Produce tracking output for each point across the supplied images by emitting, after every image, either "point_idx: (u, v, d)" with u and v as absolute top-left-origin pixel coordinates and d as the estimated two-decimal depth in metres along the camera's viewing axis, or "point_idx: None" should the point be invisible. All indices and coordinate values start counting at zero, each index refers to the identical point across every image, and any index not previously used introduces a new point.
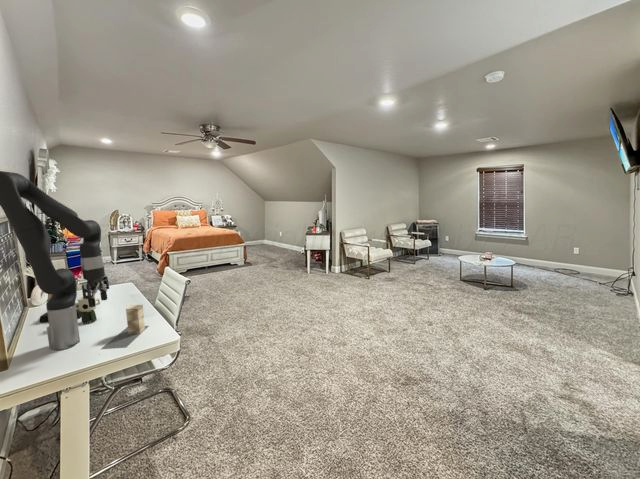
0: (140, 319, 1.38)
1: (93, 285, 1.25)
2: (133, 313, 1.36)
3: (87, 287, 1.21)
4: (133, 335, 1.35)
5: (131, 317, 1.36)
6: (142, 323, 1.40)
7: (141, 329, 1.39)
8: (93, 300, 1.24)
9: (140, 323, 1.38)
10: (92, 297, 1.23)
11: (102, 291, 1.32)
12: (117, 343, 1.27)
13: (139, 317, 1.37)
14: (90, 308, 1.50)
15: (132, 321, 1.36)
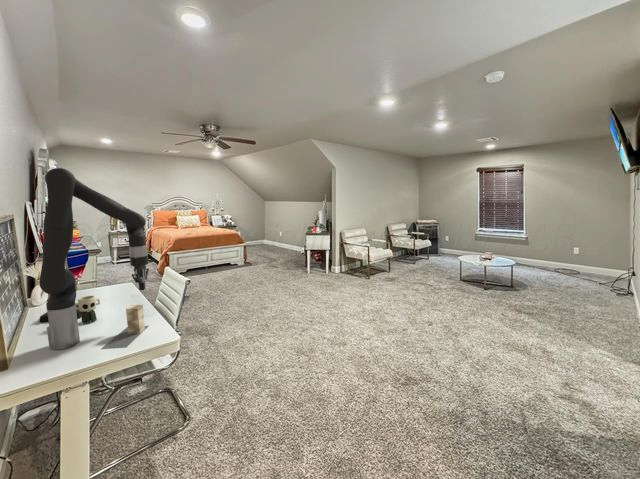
0: (140, 319, 1.38)
1: (140, 273, 1.42)
2: (133, 313, 1.36)
3: (137, 277, 1.39)
4: (133, 335, 1.35)
5: (131, 317, 1.36)
6: (142, 323, 1.40)
7: (141, 329, 1.39)
8: (143, 284, 1.45)
9: (140, 323, 1.38)
10: (142, 282, 1.44)
11: None
12: (117, 343, 1.27)
13: (139, 317, 1.37)
14: (90, 308, 1.50)
15: (132, 321, 1.36)
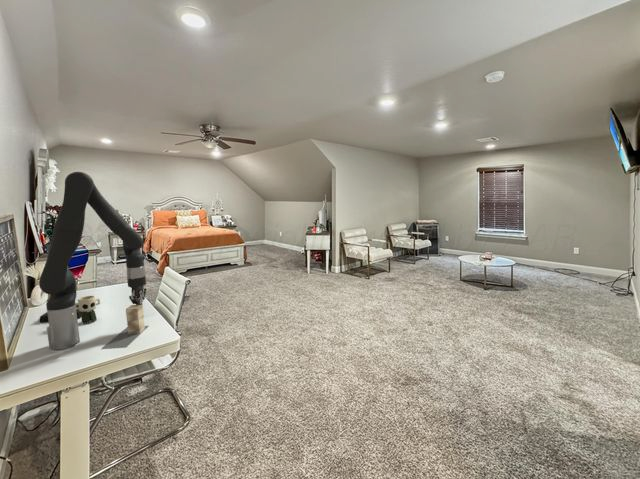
0: (139, 319, 1.37)
1: (137, 295, 1.39)
2: (133, 313, 1.35)
3: (134, 298, 1.37)
4: (133, 335, 1.35)
5: (131, 317, 1.36)
6: (142, 323, 1.40)
7: (141, 329, 1.39)
8: None
9: (140, 323, 1.38)
10: (140, 303, 1.41)
11: None
12: (117, 343, 1.27)
13: (139, 318, 1.37)
14: (90, 308, 1.50)
15: (132, 321, 1.36)
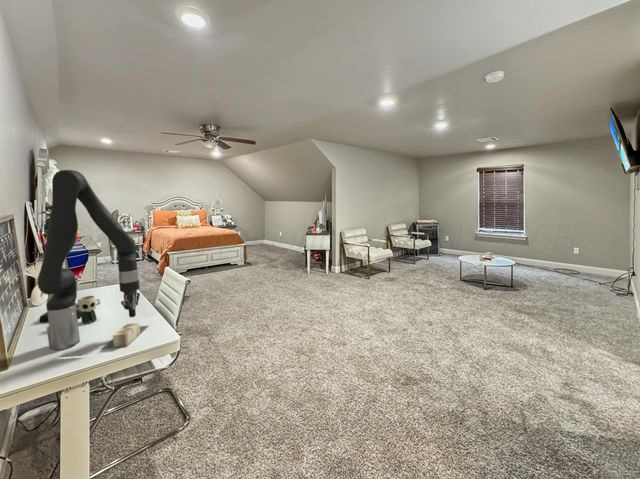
0: (133, 337, 1.31)
1: (130, 300, 1.32)
2: None
3: (127, 304, 1.30)
4: None
5: None
6: (135, 330, 1.33)
7: (138, 330, 1.36)
8: (133, 311, 1.35)
9: (135, 334, 1.33)
10: (133, 308, 1.34)
11: None
12: None
13: (132, 339, 1.30)
14: (90, 308, 1.50)
15: None
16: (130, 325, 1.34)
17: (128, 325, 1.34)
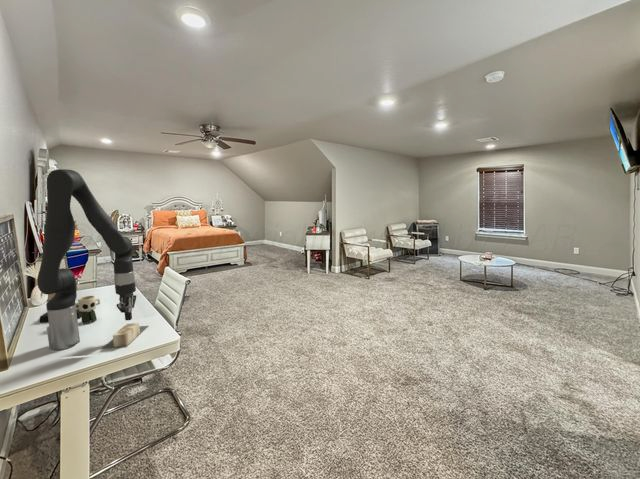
0: (133, 337, 1.31)
1: (126, 302, 1.29)
2: None
3: (122, 307, 1.26)
4: None
5: None
6: (135, 330, 1.33)
7: (138, 330, 1.36)
8: (129, 314, 1.31)
9: (135, 334, 1.33)
10: (129, 311, 1.31)
11: None
12: None
13: (132, 339, 1.30)
14: (90, 308, 1.50)
15: None
16: (130, 325, 1.34)
17: (128, 325, 1.34)
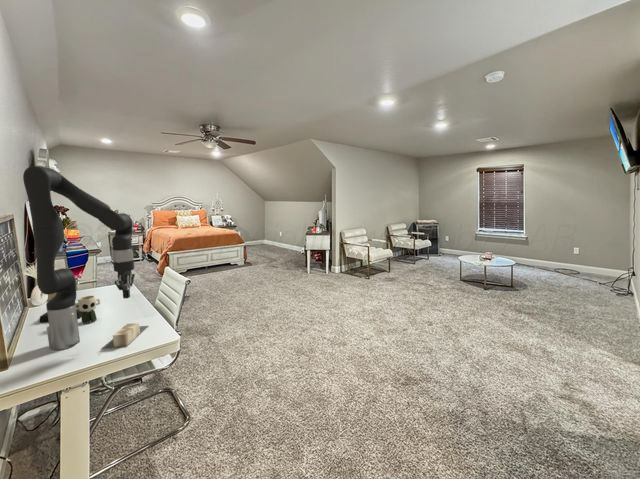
0: (133, 337, 1.31)
1: (124, 280, 1.28)
2: None
3: (120, 284, 1.25)
4: None
5: None
6: (135, 330, 1.33)
7: (138, 330, 1.36)
8: (127, 292, 1.30)
9: (135, 334, 1.33)
10: (127, 289, 1.29)
11: None
12: None
13: (132, 339, 1.30)
14: (90, 308, 1.50)
15: None
16: (130, 325, 1.34)
17: (128, 325, 1.34)
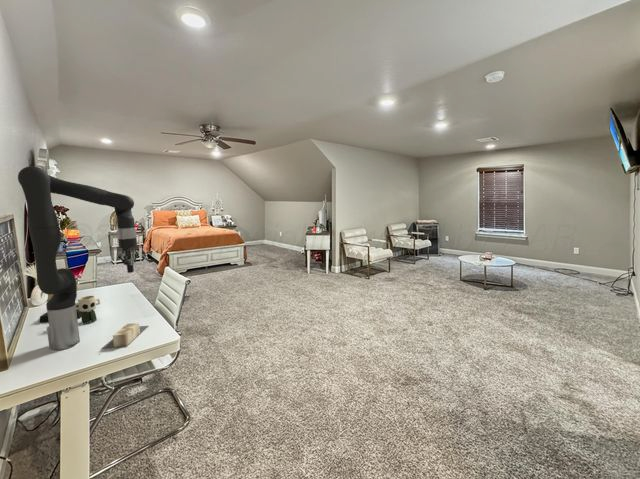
0: (133, 337, 1.31)
1: (128, 255, 1.41)
2: None
3: (125, 258, 1.39)
4: None
5: None
6: (135, 330, 1.33)
7: (138, 330, 1.36)
8: (131, 267, 1.44)
9: (135, 334, 1.33)
10: (131, 264, 1.43)
11: None
12: None
13: (132, 339, 1.30)
14: (90, 308, 1.50)
15: None
16: (130, 325, 1.34)
17: (128, 325, 1.34)
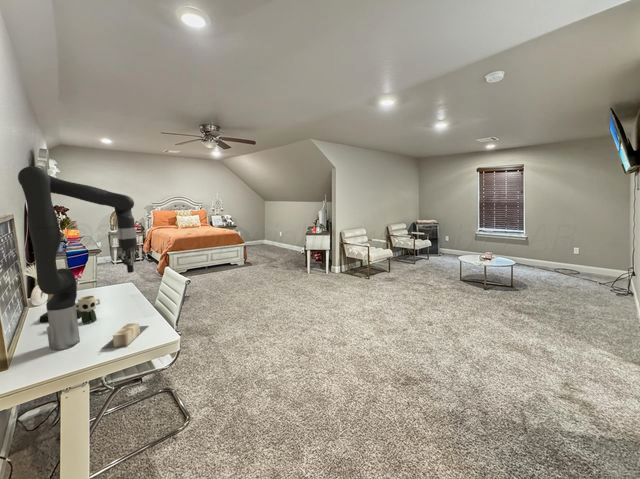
0: (133, 337, 1.31)
1: (128, 255, 1.41)
2: None
3: (125, 258, 1.39)
4: None
5: None
6: (135, 330, 1.33)
7: (138, 330, 1.36)
8: (131, 267, 1.44)
9: (135, 334, 1.33)
10: (130, 264, 1.43)
11: None
12: None
13: (132, 339, 1.30)
14: (90, 308, 1.50)
15: None
16: (130, 325, 1.34)
17: (128, 325, 1.34)
